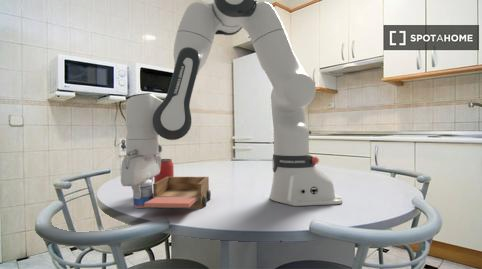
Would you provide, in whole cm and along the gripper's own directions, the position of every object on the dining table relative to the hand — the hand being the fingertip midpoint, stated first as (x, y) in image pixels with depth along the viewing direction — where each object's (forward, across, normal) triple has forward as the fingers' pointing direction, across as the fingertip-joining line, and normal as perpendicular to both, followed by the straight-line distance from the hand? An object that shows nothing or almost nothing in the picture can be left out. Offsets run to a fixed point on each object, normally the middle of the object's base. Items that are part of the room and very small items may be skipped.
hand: (143, 195), depth 82 cm
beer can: (+3, +16, -1) cm, 16 cm away
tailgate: (0, -3, -11) cm, 11 cm away
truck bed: (+3, +4, -11) cm, 12 cm away
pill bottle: (+3, 0, 0) cm, 3 cm away
